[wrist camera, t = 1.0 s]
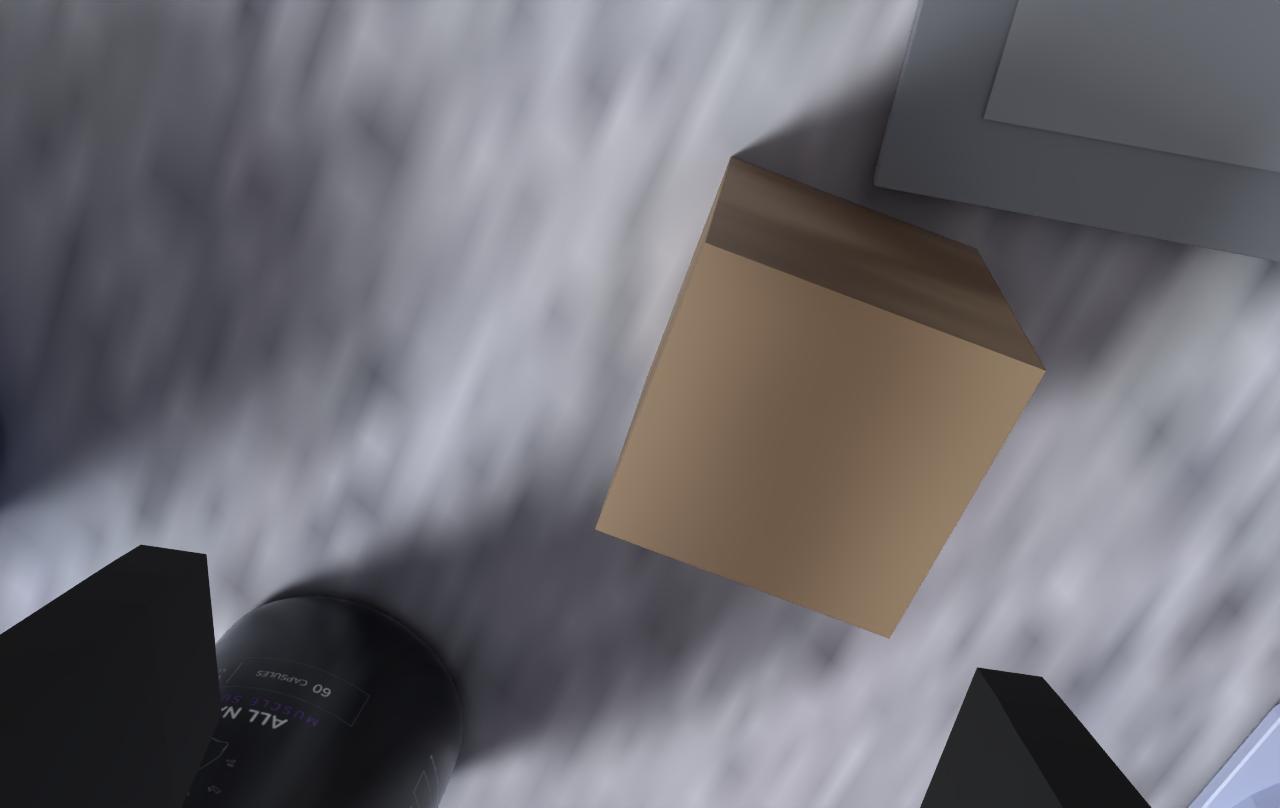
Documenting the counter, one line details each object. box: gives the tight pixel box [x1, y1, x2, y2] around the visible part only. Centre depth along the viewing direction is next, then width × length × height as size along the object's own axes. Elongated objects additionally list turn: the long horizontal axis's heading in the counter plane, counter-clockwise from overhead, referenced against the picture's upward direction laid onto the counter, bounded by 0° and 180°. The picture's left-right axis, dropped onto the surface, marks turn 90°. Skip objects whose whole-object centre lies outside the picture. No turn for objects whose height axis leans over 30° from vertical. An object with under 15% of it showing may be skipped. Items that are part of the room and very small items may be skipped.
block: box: [595, 157, 1046, 638], centre depth 17 cm, size 5×5×6 cm
